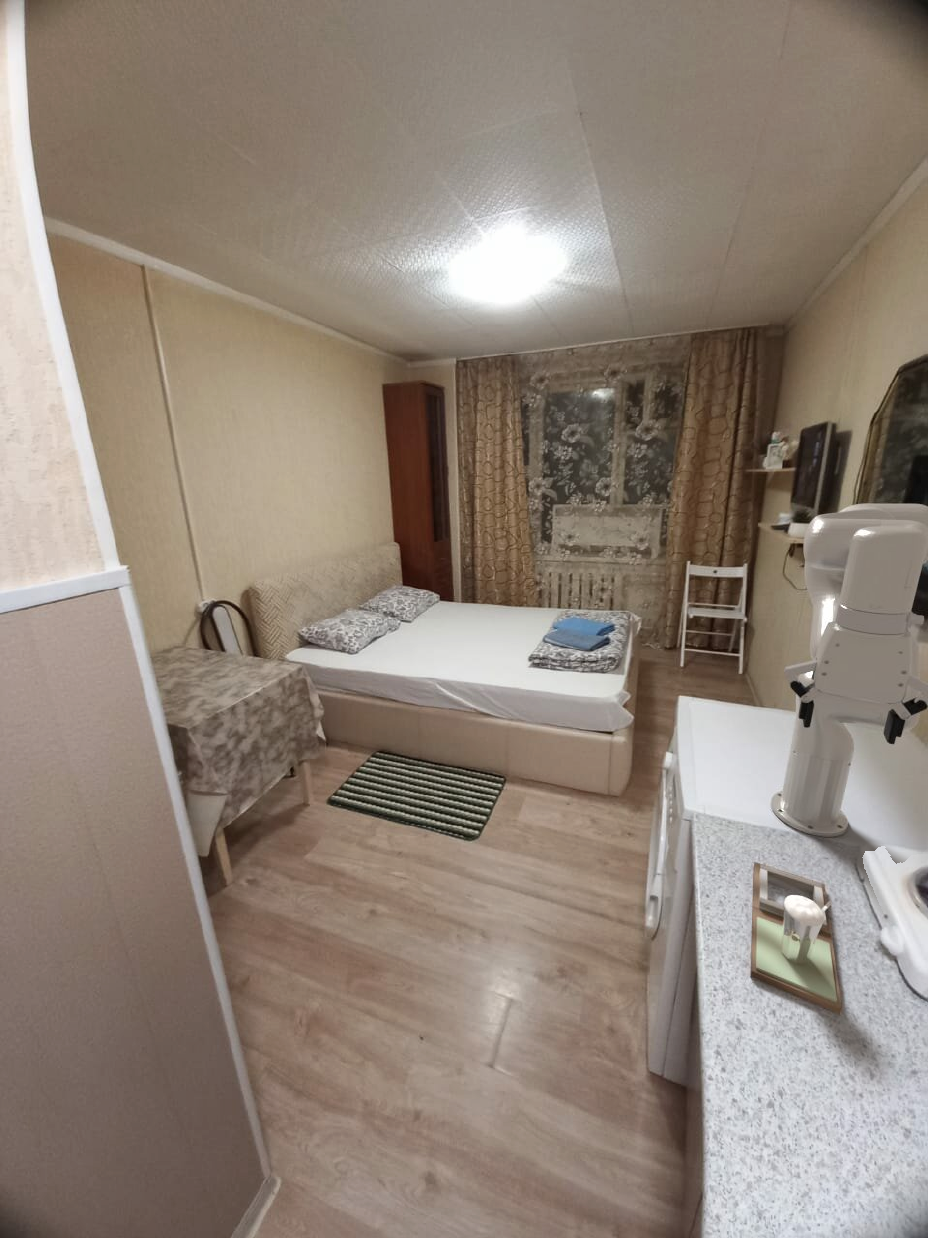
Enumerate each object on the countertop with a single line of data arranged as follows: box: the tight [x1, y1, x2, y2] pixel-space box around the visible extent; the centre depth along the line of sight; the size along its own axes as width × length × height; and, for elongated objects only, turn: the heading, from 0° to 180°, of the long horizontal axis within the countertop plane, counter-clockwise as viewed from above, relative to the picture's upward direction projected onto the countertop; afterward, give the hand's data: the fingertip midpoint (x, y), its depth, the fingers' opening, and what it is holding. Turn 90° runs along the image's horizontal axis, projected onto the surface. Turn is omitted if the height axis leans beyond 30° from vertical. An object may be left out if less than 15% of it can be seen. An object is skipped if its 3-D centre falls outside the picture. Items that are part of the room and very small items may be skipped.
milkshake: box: [781, 894, 833, 965], centre depth 67 cm, size 4×5×10 cm
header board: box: [749, 861, 843, 1016], centre depth 73 cm, size 22×10×2 cm, turn 149°
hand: (845, 731), depth 71 cm, fingers open, 9 cm apart
